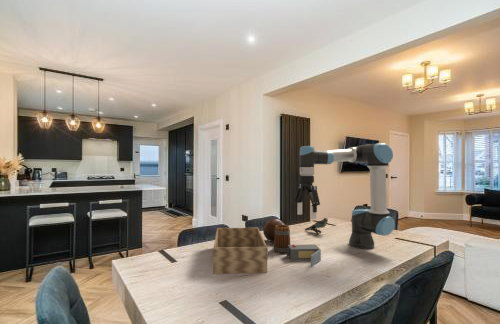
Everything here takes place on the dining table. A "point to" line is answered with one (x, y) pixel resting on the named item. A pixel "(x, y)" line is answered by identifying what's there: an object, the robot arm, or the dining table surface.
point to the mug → (281, 238)
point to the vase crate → (239, 251)
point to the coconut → (271, 229)
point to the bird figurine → (318, 225)
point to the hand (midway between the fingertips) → (306, 216)
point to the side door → (316, 257)
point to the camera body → (301, 251)
